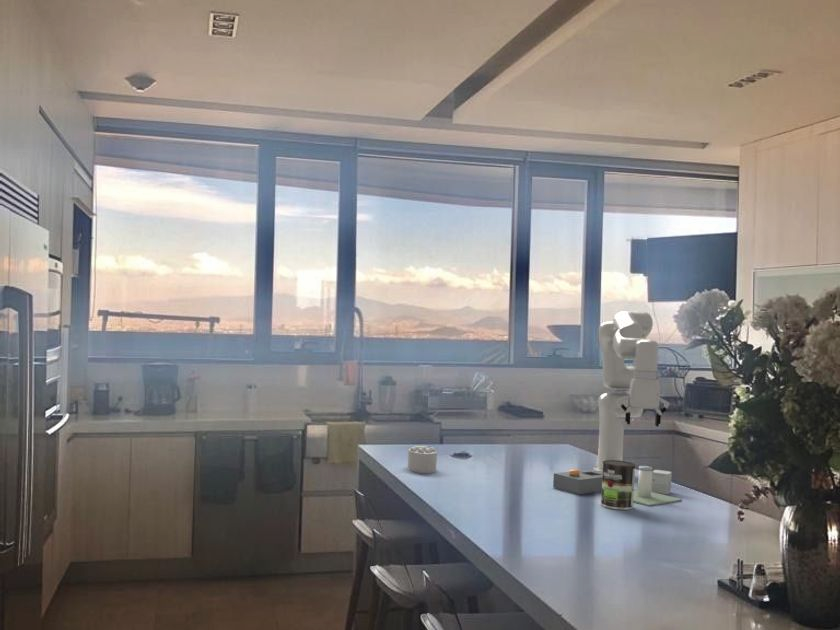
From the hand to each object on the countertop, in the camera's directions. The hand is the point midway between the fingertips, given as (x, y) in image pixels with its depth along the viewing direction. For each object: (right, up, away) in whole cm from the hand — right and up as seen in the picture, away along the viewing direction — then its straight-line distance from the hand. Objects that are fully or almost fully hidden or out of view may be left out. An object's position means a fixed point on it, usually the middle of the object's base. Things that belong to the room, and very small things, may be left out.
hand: (642, 425), depth 286 cm
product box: (+9, -25, +8) cm, 28 cm away
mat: (-1, -24, -4) cm, 25 cm away
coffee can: (-13, -24, -19) cm, 33 cm away
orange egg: (-23, -22, +4) cm, 32 cm away
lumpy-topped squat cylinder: (-76, -21, +28) cm, 84 cm away
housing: (-19, -24, +7) cm, 31 cm away
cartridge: (-1, -24, -4) cm, 24 cm away
